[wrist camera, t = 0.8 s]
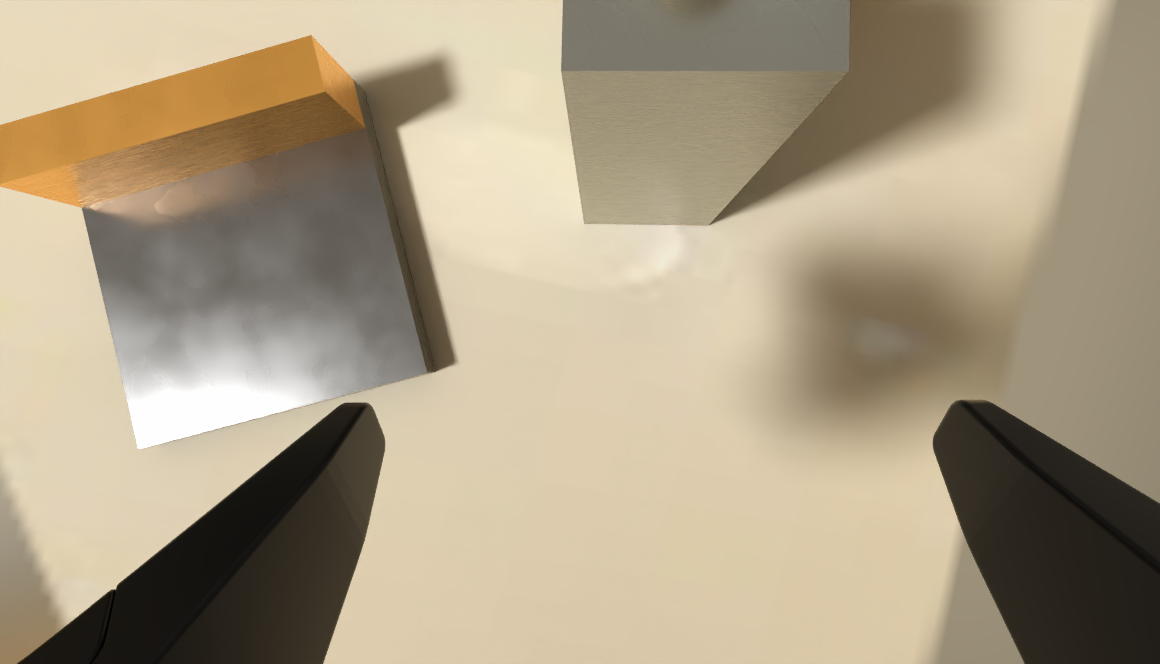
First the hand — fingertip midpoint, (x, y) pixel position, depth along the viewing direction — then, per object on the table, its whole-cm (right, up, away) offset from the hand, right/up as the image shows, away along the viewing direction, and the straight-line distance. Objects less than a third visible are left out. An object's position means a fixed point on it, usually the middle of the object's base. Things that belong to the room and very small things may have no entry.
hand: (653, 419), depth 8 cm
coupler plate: (-14, +4, +14) cm, 20 cm away
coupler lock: (+2, +8, +13) cm, 15 cm away
